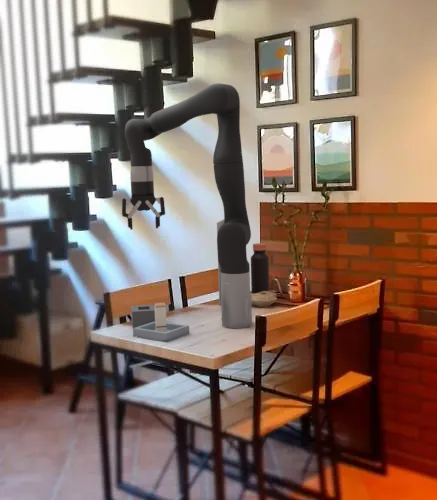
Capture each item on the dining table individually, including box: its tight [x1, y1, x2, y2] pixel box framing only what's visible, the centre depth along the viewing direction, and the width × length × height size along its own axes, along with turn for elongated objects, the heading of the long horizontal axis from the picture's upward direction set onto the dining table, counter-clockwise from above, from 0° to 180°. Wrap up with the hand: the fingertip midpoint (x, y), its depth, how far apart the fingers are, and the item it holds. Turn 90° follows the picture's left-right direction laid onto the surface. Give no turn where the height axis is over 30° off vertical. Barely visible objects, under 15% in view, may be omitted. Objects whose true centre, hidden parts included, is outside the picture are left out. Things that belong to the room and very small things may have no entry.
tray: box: [132, 321, 190, 343], centre depth 211 cm, size 13×11×2 cm
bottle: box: [250, 242, 270, 294], centre depth 263 cm, size 7×7×20 cm
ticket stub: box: [154, 302, 167, 332], centre depth 210 cm, size 3×4×9 cm
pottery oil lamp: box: [250, 290, 278, 308], centre depth 247 cm, size 9×12×7 cm
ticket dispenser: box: [130, 304, 155, 329], centre depth 224 cm, size 8×9×6 cm
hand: (144, 228), depth 232 cm, fingers open, 8 cm apart
